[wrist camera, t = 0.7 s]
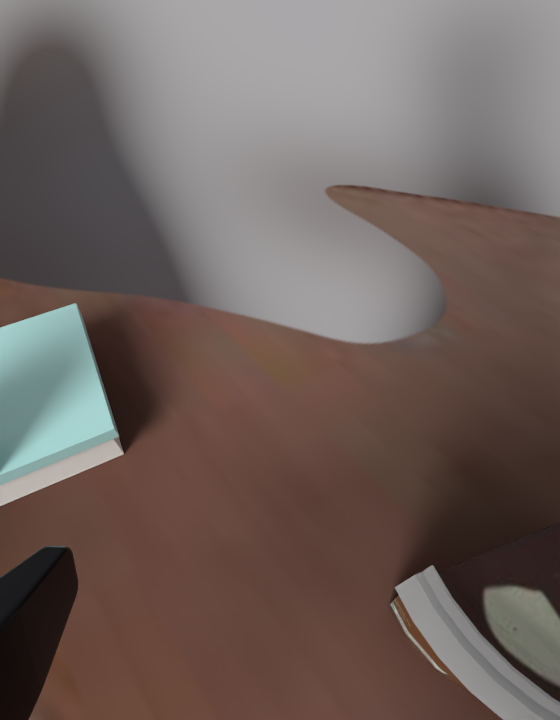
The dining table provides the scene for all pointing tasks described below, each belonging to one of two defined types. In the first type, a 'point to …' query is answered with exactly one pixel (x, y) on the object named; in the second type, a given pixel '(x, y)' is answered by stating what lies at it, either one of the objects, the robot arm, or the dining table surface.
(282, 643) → the dining table surface
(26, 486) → the tub
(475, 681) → the food container
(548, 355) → the dining table surface
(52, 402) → the lid
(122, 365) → the dining table surface
